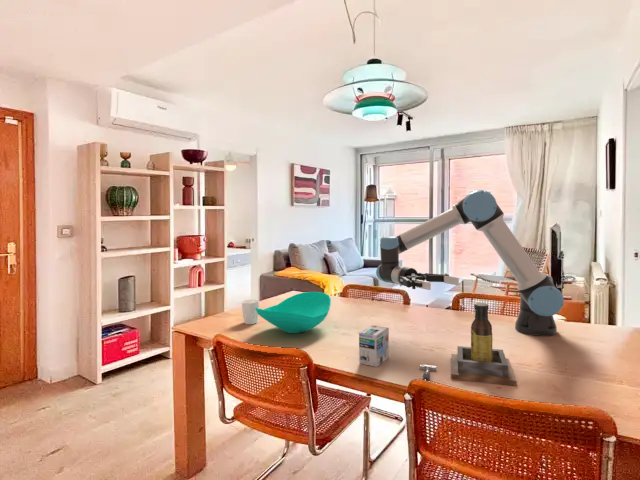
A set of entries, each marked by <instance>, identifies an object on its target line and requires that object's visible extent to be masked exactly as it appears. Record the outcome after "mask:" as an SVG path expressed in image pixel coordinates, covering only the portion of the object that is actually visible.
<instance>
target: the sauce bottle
mask: <svg viewBox="0 0 640 480" xmlns="http://www.w3.org/2000/svg"><path fill="white" fill-rule="evenodd" d="M473 308H474V314H475V315H474V320H473V321H472V323H471V325H470V347H471V359H472V361H482V362H492V349H493V325H492V324H491V322H490V320H489V304H488V303H485V302H476V303H475V304H474V307H473Z"/></svg>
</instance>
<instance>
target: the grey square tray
mask: <svg viewBox="0 0 640 480" xmlns="http://www.w3.org/2000/svg"><path fill="white" fill-rule="evenodd" d="M456 350H457V353H450V357H451V359H450V379H451V380H458V381H467V382H475V383H476V382H477V383H487V384H494V385H495V384H497V385H505V386H514V387H515V386H517V382H518V381H517V378H516V375H515V373H514V369H513V367H512V364H511V362H510V359H509V358H506V355H505V352H504V349H501V348H500V349H498V348H497V349H496V348H492V362H482V361H472V359H471V346H462V345H461V346H460V345H457V348H456Z"/></svg>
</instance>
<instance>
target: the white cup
mask: <svg viewBox="0 0 640 480" xmlns="http://www.w3.org/2000/svg"><path fill="white" fill-rule="evenodd" d="M259 305H260V301H259V299H245V300H243V301H241V311H242V318H243V319H242V320H243V324H244V323H245V325H255V323H256V324H258V323H259V317H260V315H259V314H258V313H257V311H256V308H260V307H259Z"/></svg>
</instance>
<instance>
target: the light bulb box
mask: <svg viewBox="0 0 640 480" xmlns="http://www.w3.org/2000/svg"><path fill="white" fill-rule="evenodd" d="M389 333H390V328H389V327H387V326H379V325H374V324H371V325H369V326H368V327H367V328H364V329H363V330H362V331H360V332H358V349H359V350H358V351H359V354H358V355H359V359H358V360H359V361H358V362H359V364H361V365H365V366H366V365H367V366H370V367H375V368H377V367H379V366H380V365H381V364H382V363H384V362H386V360H388V359H389V358H390V357H389V356H390V347H389V346H390V345H389V343H390V341H389V339H390V337H389Z"/></svg>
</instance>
